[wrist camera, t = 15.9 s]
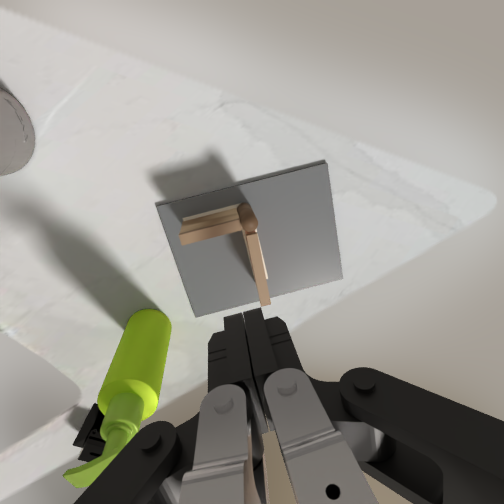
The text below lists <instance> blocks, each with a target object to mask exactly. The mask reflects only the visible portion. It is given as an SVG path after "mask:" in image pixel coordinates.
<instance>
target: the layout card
mask: <svg viewBox="0 0 504 504" xmlns="http://www.w3.org/2000/svg"><path fill="white" fill-rule="evenodd" d="M244 202H245V203H248V204H249V205H250V206H251V208H252V210H253V212H254V214H255V216H256V218H257V220H258V227H257V228H256V230H255V231H256V232H257V234H258V239H259V244H260V250H261V255H262V260H263V265H264V270H265V275H266V281H267V286H268V291H269V296H270V298H272V297H276V296H279V295H283V294H287V293H291V292H295V291H298V290H302V289H306V288H310V287H313V286H317V285H321V284H325V283H329V282H332V281H336V280H340V279H343V274H342V267H341V260H340V252H339V245H338V238H337V230H336V223H335V216H334V208H333V201H332V194H331V186H330V179H329V172H328V164H327V163H324V164H320V165H316V166H312V167H308V168H304V169H300V170H296V171H292V172H288V173H284V174H280V175H277V176H273V177H269V178H265V179H261V180H257V181H253V182H249V183H245V184H241V185H237V186H233V187H230V188H226V189H222V190H218V191H214V192H210V193H206V194H202V195H198V196H194V197H190V198H186V199H182V200H179V201H175V202H171V203H167V204H163V205H159V206H157V209H158V212H159V215H160V218H161V221H162V224H163V226H164V229H165V232H166V235H167V238H168V241H169V243H170V246H171V249H172V252H173V255H174V258H175V260H176V263H177V266H178V269H179V272H180V275H181V277H182V280H183V283H184V286H185V289H186V292H187V294H188V297H189V300H190V303H191V306H192V309H193V311H194V314H195V317H200V316H204V315H207V314H211V313H215V312H219V311H223V310H226V309H230V308H234V307H238V306H242V305H245V304H249V303H253V302H257V301H260V299H259V294H258V290H257V287H256V283H255V278H254V273H253V268H252V264H251V259H250V254H249V249H248V244H247V240H246V235H245V230H244V229H243V228H242V230H241V231H237V232H233V233H229V234H225V235H221V236H217V237H213V238H210V239H206V240H202V241H198V242H194V243H190V244H186V245H183V246H182V244H181V241H180V238H179V236H178V235H179V233H180V230H181V226H182V222H183V221H187V220H191V219H195V218H198V217H202V216H206V215H210V214H214V213H218V212H222V211H226V210H230V209H233V208H236V209H237V207H238V206H239V205H240V204H241V203H244Z"/></svg>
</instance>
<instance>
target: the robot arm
mask: <svg viewBox="0 0 504 504" xmlns="http://www.w3.org/2000/svg"><path fill="white" fill-rule="evenodd" d="M34 148H35V133H34V128H33V125H32V122H31V120H30V118H29V116H28V114H27V113H26V111H25V109H24V108H23V107H22V106H21V105H20V103H19V102H18V101H17V100H16V99H15V98H14V97H12V96H11V95H10V94H9V93H7V92H6V91H4V90H2V89H1V88H0V176H3V175H7V174H11V173H14V172H16V171H18V170H20V169H21V168H22V167H24V166H25V165H26V164H27V163H28V161H29V160H30V158H31V157H32V154H33V151H34ZM243 315H244V318H243ZM243 315H242V313H238V314H234V315H231V316H227V317H224V330H225V331H221V332H217V333H213V335H212V337H211V339H210V341H209V343H208V394H207V395H206V396H205V397H204V399H203V401H202V403H201V406H200V411H199V412H198V414H196V415H195V416H194V417H193V418H191V419H190V420H188V421H186V422H185V423H183V424H181V425H179V426H178V427H176V428H175V427H174V426H173V425H172V424H171V423H169V422H166V421H157V422H153V423H151V424H149V425H147V426H145V427H144V428H142V429H141V430H140V431H138V432H137V433H136V434H135V436H134V437H133V438H132V439H131V440H130V441H129V442H128V443H127V444H126V446H125V447H124V448H123V449H122V450H121V451H120V452H119V453H118V455H117V456H116V457H115V458H114V459H113V460H112V461H111V462H110V464H109V465H108V466H107V467H106V468H105V469H104V470H103V471H102V472H101V474H100V475H99V476H98V477H97V478H96V479H95V480H94V481H93V483H92V484H91V485H90V486H89V487H88V488H87V489H86V491H84V493H83V494H82V495H81V496H80V497H79V498H78V500H76V502H75V503H74V504H269V494H268V483H267V472H266V460H265V455H264V446H263V439H262V434H263V433H267V432H268V426H267V421H268V424H269V428H270V431H274V430H275V432H276V435H277V438H278V442H279V446H280V449H281V453H282V456H283V460H284V463H285V466H286V470H287V473H288V476H289V479H290V483H291V486H292V489H293V493H294V495H295V499H296V502H297V504H379V503H378V501H377V499H376V497H375V495H374V494H373V492H372V490H371V488H370V486H369V484H368V482H367V481H366V478H365V476H364V474H363V472H362V471H364V472H365V473H367V474H368V475H370V476H371V477H373V478H374V479H376V480H377V481H379V482H381V483H382V484H384V485H385V486H387V487H388V488H390V489H391V490H393V491H394V492H396V493H397V494H399V495H400V496H402V497H404V498H405V499H407V500H408V501H410V502H412V503H413V504H504V421H502V420H499V419H497V418H494V417H492V416H489V415H487V414H484V413H481V412H479V411H477V410H474V409H472V408H469V407H467V406H465V405H462V404H459V403H457V402H454V401H452V400H450V399H447V398H444V397H442V396H440V395H437V394H435V393H432V392H429V391H427V390H425V389H422V388H420V387H417V386H415V385H412V384H410V383H408V382H405V381H402V380H400V379H397V378H395V377H393V376H390V375H388V374H385V373H383V372H380V371H378V370H375V369H372V368H366V367H361V368H355V369H351V370H349V371H348V372H346V373H345V374H344V375H343V376H342V377H341V379H340V381H339V382H324V381H318V380H316V379H313V378H311V377H310V376H308V375H307V374H306V373H305V371H304V370H303V368H302V366H301V363H300V360H299V358H298V355H297V352H296V350H295V347H294V344H293V342H292V339H291V336H290V334H289V331H288V328H287V326H286V323H285V322H284V321H283V320H281V319H280V318H279V317H273V318H269V319H266V320H264V317H263V313H262V310H261V307H260V308H257V309H253V310H249V311H245V312H243ZM244 320H245V322H244ZM265 414H266V416H265ZM266 417H267V421H266ZM361 470H362V471H361Z"/></svg>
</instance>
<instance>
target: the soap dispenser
mask: <svg viewBox="0 0 504 504" xmlns="http://www.w3.org/2000/svg"><path fill="white" fill-rule="evenodd" d="M170 335H171V322H170V320H169V319H168V317H167V316H166V315H165V314H163V313H162V312H160V311H157V310H154V309H144V310H140V311H138V312H136V313H134V314H133V315H132V316H131V317H130V319H129V321H128V323H127V326H126V328H125V331H124V333H123V336H122V338H121V341H120V343H119V345H118V348H117V350H116V353H115V355H114V358H113V360H112V363H111V365H110V368H109V370H108V372H107V375H106V377H105V380H104V382H103V385H102V387H101V390H100V392H99V395H98V399H97V403H98V407H99V409H100V411H101V412H102V413H103V414H104V415H105V417H104V420H103V422H102V425H101V428H100V435H101V437H102V438H103V439H104V440H105V441H106V444H105V447H104V450H103V453H102V456H100V457H98V458H96V459H94V460H92V461H90V462H88V463H86V464H84V465H82V466H79V467H76V468H72V469H69V470H67V471H66V472H65V473H64V474H63V477H64V478H65V479H66V480H68V481H69V482H70V483H71V484H72V485H73V486H75V487H76V488H82V487H87V486H90V485H91V484H92V483H93V481H94V480H95V479H96V478H97V477H98V476H99V475H100V474H101V472H102V471H103V470H104V469H105V468H106V467H107V466H108V465H109V464H110V462H111V461H112V460H113V459H114V458H115V457H116V456H117V455H118V453H119V452H120V451H121V450H122V449H123V448H124V447H125V446H126V444H127V443H128V442H129V441H130V440H131V439H132V438H133V437H134V436H135V434H136V433H137V432H138V431H139V428H140V423H141V421H143V420H145V419H147V418H148V417H150V416H151V415H152V414H153V413H154V412H155V410H156V408H157V405H158V400H159V395H160V389H161V384H162V378H163V373H164V367H165V362H166V356H167V351H168V346H169V340H170Z"/></svg>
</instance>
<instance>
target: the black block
mask: <svg viewBox="0 0 504 504" xmlns="http://www.w3.org/2000/svg"><path fill="white" fill-rule="evenodd" d="M104 417H105V415H104V414H103V413H102V412H101V411H100V409H99V407H98V404H96V403H94V404H93V406H92V408H91V410H90V412H89V414H88V416H87V418H86V420H85V422H84V424H83V426H82V427H81V429H80V431H79V433H78V435H77V437H76V439H75V441H74V443H73V446H77V447H81V448H82V449H81V451H80V454H79V457H78V460H82V461H86V462H90V461H92V460H94V459H96V458H98V457H100V456H102V453H103V450H104V447H105V444H106V441H105V440H104V439H103V438H102V437H101V435H100V428H101V425H102V422H103V420H104Z"/></svg>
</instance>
